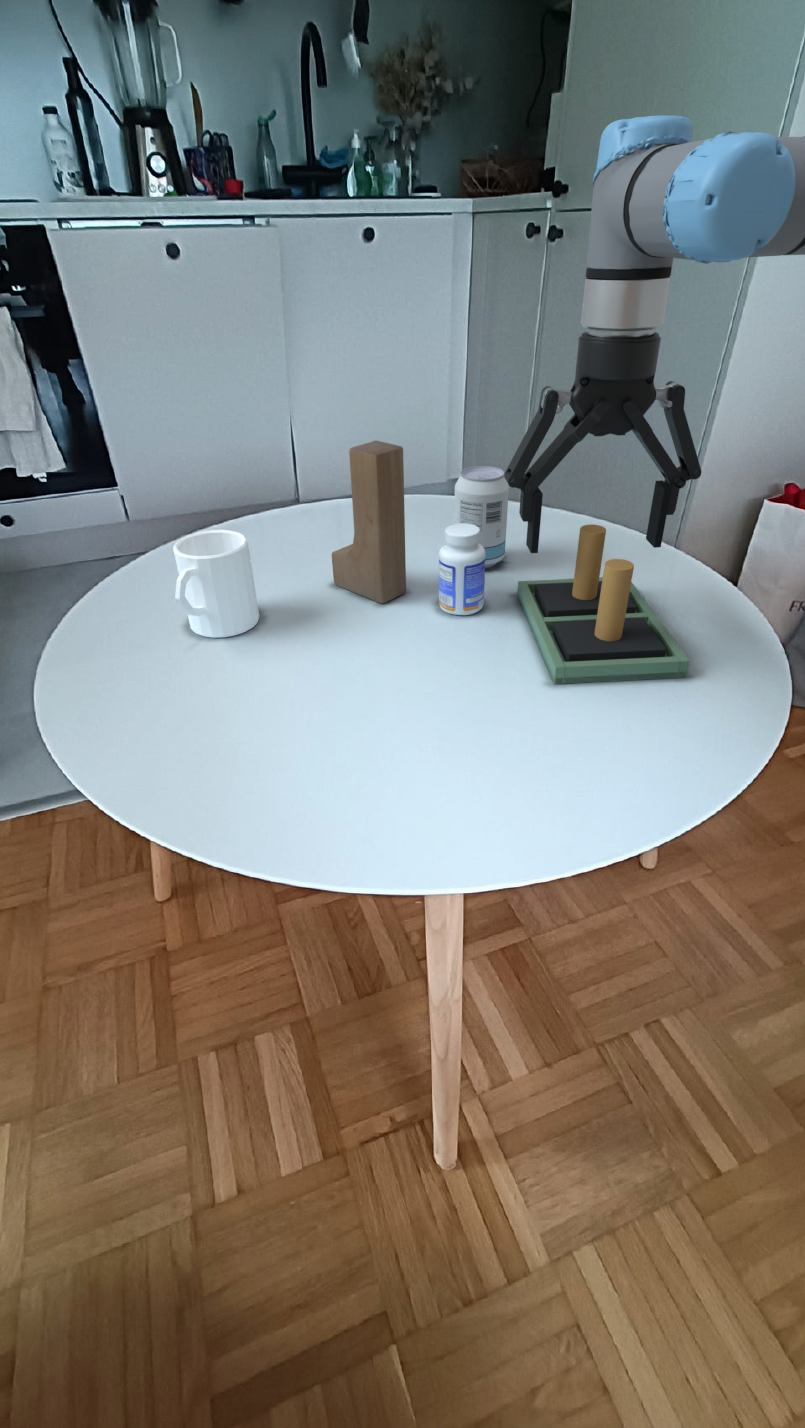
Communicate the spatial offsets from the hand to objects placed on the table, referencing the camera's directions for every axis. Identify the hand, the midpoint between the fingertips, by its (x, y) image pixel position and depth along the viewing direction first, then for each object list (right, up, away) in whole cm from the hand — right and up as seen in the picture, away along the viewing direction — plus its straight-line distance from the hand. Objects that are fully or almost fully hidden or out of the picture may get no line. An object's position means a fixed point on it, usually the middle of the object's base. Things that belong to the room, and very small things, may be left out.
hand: (592, 546), depth 80 cm
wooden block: (-25, -3, +12) cm, 28 cm away
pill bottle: (-14, -6, +7) cm, 17 cm away
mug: (-43, -9, +4) cm, 44 cm away
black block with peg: (0, -6, +5) cm, 8 cm away
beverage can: (-11, +2, +18) cm, 21 cm away
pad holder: (0, -9, +1) cm, 10 cm away
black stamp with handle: (+1, -12, -3) cm, 12 cm away
